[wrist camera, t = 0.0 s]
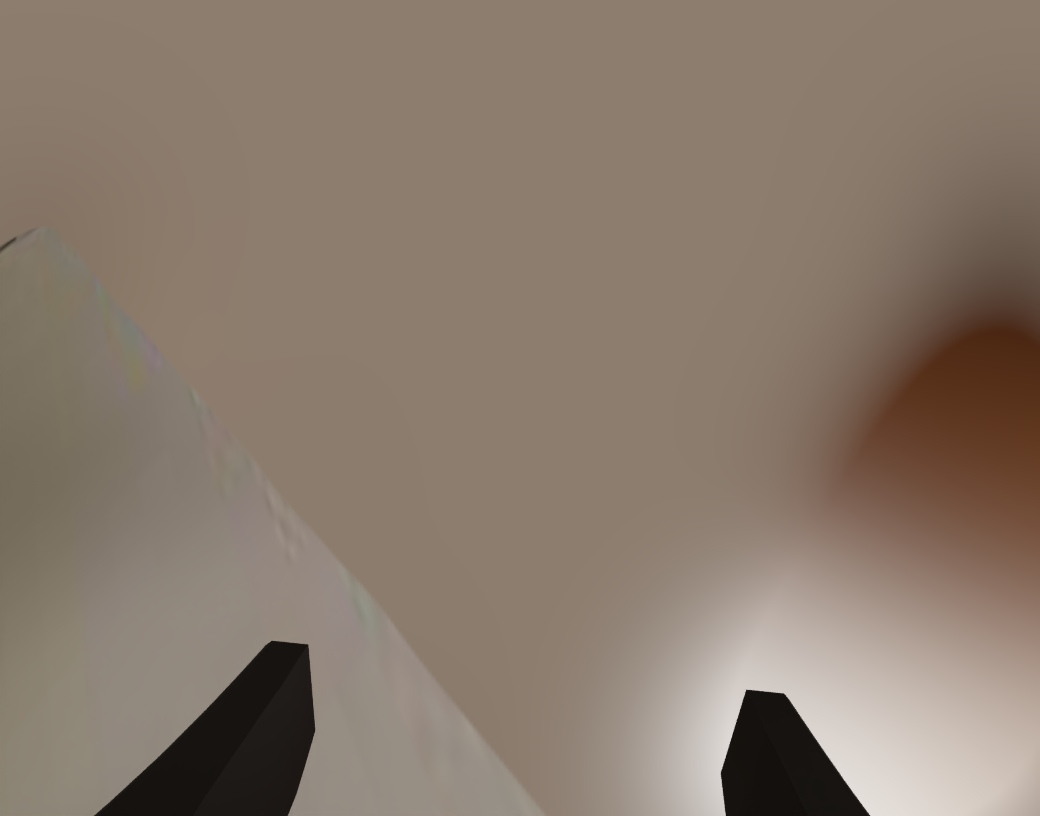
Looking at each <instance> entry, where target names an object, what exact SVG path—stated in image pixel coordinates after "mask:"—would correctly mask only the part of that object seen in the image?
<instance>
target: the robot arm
mask: <svg viewBox="0 0 1040 816" xmlns="http://www.w3.org/2000/svg"><path fill="white" fill-rule="evenodd" d="M314 733H315V721H314V709H313V697H312V684H311V672H310V660H309V648H308V644H298V643H288V642H279V641H271V642H270V643H268V644H267V645H266V646H265V647H264V648H263V649H262V650H261V651H260V652H259V653H258V654H257V656H256V657H255V658H254V659H253V660H252V661H251V662H250V663H249V664H248V665H247V667H246V668H245V669H244V670H243V671H242V672H241V673H240V674H239V675H238V676H237V677H236V679H235V680H234V681H233V682H232V683H231V684H230V685H229V686H228V687H227V688H226V689H225V690H224V691H223V692H222V693H221V695H220V696H219V697H218V698H217V699H216V700H215V701H214V702H213V703H212V704H211V705H210V706H209V707H208V708H207V709H206V710H205V711H204V712H203V713H202V714H201V715H200V716H199V717H198V718H197V719H196V720H195V721H194V722H193V723H192V724H191V725H190V726H189V727H188V728H187V729H186V730H185V731H184V732H183V733H182V734H181V735H180V736H179V737H178V738H177V739H176V740H175V741H174V742H173V743H172V744H171V745H170V746H169V747H168V748H167V749H166V750H165V751H164V752H163V753H162V754H161V755H160V756H159V757H158V758H157V759H156V760H155V761H154V762H153V763H152V764H151V765H149V766H148V767H147V768H146V769H145V770H144V771H143V772H142V773H141V774H140V775H139V776H138V777H137V778H135V779H134V780H133V781H132V782H131V783H130V784H129V785H128V786H127V787H126V788H125V789H124V790H122V791H121V792H120V793H119V794H118V795H117V796H116V797H115V798H114V799H113V800H112V801H110V802H109V803H108V804H107V805H106V806H105V807H104V808H102V809H101V810H100V811H99V812H98V813H97V814H96V815H94V816H288V814H289V811H290V809H291V806H292V804H293V801H294V799H295V796H296V794H297V790H298V787H299V784H300V781H301V777H302V774H303V771H304V768H305V764H306V761H307V757H308V754H309V750H310V747H311V743H312V740H313V736H314ZM721 779H722V787H723V796H724V804H725V812H726V816H870V815H869V813H868V812H867V811H866V810H865V808H864V807H863V806H862V804H861V803H860V801H859V800H858V799H857V797H856V796H855V795H854V794H853V792H852V790H851V789H850V788H849V786H848V785H847V783H846V782H845V781H844V779H843V778H842V776H841V775H840V773H839V772H838V771H837V769H836V768H835V766H834V765H833V764H832V762H831V761H830V759H829V758H828V756H827V755H826V753H825V752H824V751H823V749H822V748H821V746H820V745H819V743H818V742H817V740H816V739H815V737H814V736H813V734H812V733H811V731H810V730H809V728H808V727H807V726H806V724H805V723H804V721H803V720H802V718H801V717H800V715H799V714H798V712H797V711H796V709H795V708H794V706H793V705H792V703H791V702H790V700H789V699H788V698H787V697H786V695H785V694H783V693H773V692H764V691H754V690H746V692H745V696H744V699H743V702H742V706H741V709H740V712H739V715H738V719H737V722H736V725H735V729H734V732H733V735H732V738H731V742H730V745H729V748H728V752H727V755H726V758H725V761H724V764H723V768H722V771H721Z"/></svg>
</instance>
